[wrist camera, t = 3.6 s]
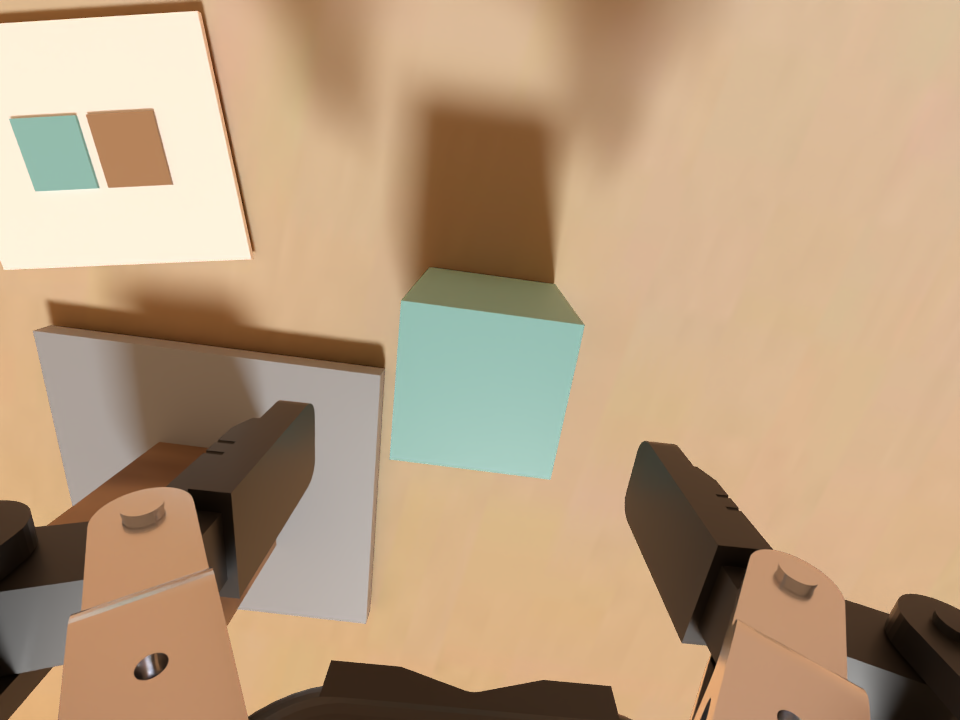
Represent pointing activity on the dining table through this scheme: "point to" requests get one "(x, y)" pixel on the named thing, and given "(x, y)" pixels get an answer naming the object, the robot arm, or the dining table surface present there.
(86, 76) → the page
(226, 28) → the dining table surface
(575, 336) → the teal brick
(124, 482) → the walnut brick
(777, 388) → the dining table surface
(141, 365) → the plate
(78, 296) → the dining table surface
